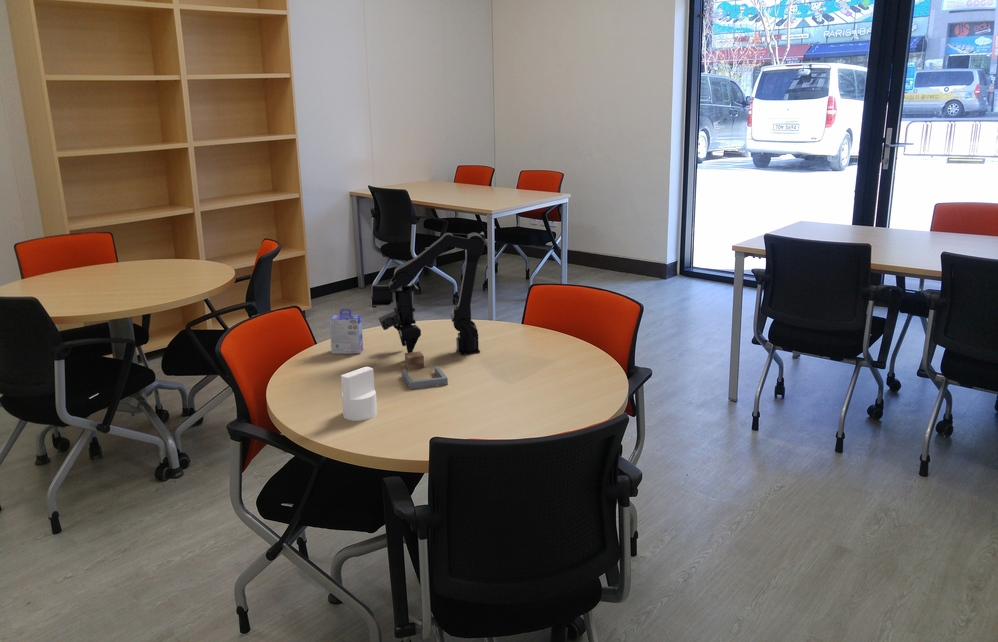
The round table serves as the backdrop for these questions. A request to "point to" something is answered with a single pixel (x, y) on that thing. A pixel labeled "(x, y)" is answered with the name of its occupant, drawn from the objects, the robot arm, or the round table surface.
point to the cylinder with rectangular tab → (359, 394)
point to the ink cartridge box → (346, 333)
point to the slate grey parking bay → (426, 380)
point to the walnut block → (414, 360)
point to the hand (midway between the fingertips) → (406, 350)
